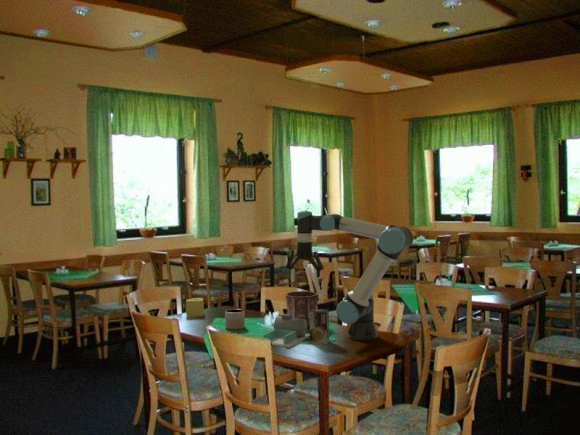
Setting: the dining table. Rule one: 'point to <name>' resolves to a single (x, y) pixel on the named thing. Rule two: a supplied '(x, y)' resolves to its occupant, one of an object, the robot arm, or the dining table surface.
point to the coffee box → (319, 326)
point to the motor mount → (287, 331)
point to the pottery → (301, 304)
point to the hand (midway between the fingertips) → (304, 282)
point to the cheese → (194, 307)
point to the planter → (234, 319)
